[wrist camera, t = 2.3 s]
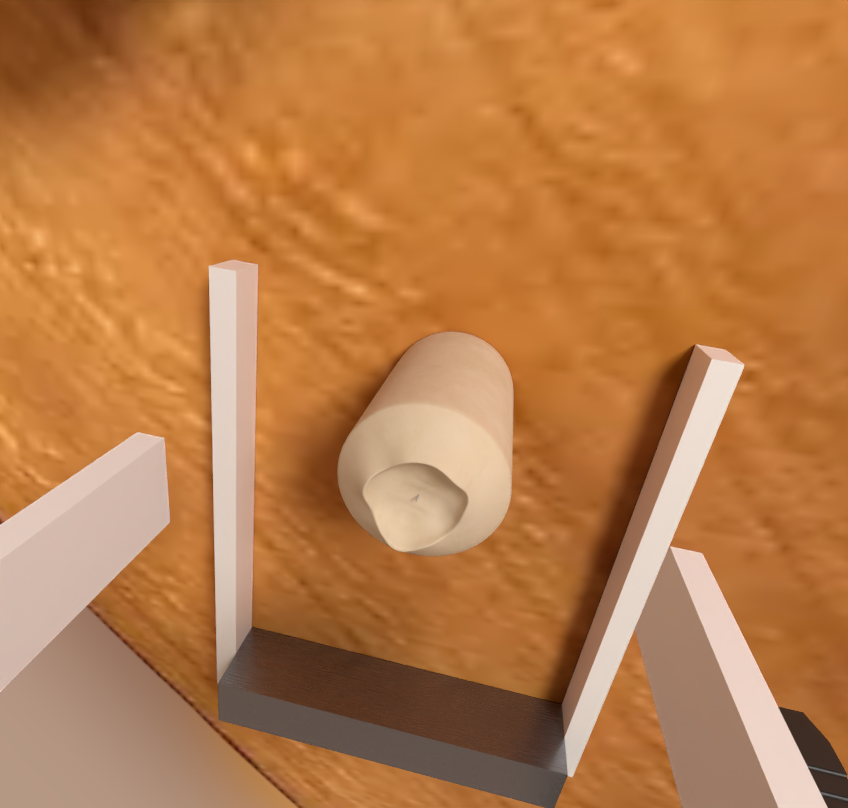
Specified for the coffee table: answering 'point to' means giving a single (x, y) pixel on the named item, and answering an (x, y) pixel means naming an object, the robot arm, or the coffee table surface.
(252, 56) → the coffee table surface
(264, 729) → the guide track
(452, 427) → the candle
